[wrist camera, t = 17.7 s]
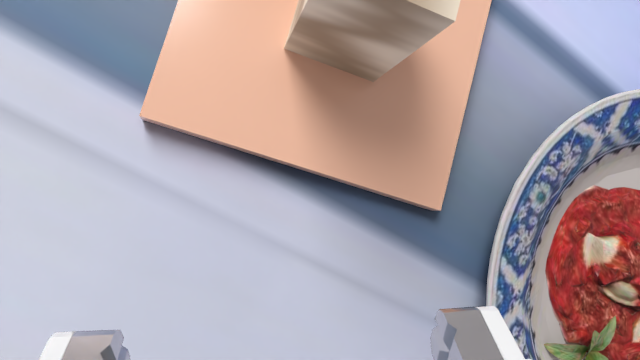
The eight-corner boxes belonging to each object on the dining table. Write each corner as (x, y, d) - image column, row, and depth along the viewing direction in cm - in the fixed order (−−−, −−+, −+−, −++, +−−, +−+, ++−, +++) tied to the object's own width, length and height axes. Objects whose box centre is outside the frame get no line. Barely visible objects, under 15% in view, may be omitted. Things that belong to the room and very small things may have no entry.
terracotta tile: (142, 119, 22) (139, 115, 21) (238, -164, 24) (239, -180, 23) (431, 210, 25) (440, 210, 24) (493, -43, 27) (504, -52, 26)
